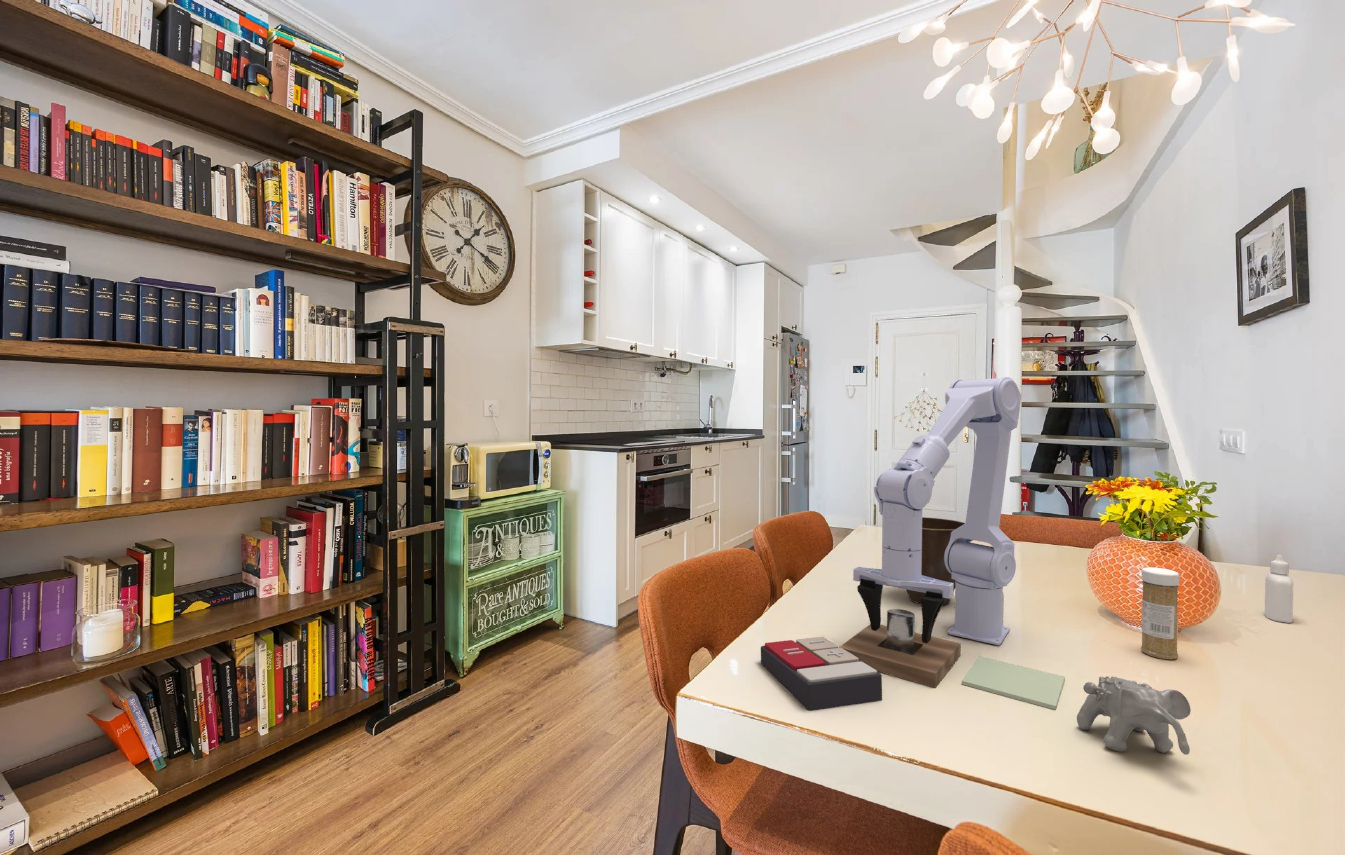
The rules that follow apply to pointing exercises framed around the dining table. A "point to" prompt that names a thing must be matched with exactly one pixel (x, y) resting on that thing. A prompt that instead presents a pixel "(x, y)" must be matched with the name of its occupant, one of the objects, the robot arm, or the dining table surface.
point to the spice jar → (1160, 612)
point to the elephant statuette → (1135, 712)
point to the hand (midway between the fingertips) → (900, 634)
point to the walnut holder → (905, 656)
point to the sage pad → (1015, 682)
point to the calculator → (821, 673)
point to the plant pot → (935, 552)
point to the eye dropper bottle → (1279, 592)
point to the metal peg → (901, 631)
